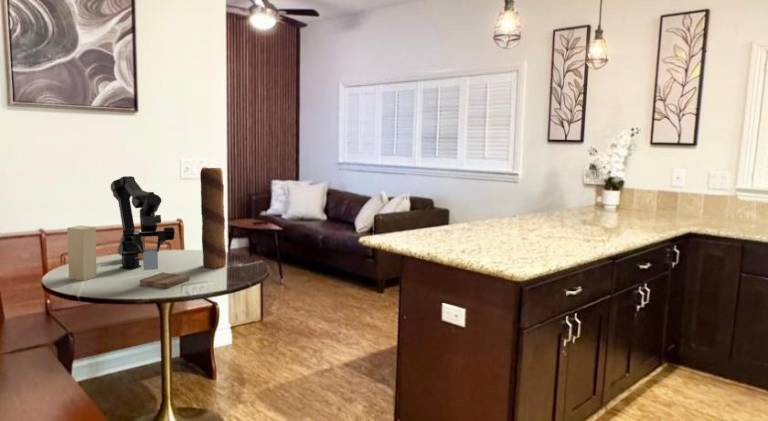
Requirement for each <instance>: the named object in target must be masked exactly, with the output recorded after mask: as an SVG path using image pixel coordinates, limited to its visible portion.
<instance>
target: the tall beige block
mask: <svg viewBox="0 0 768 421" xmlns="http://www.w3.org/2000/svg"><path fill="white" fill-rule="evenodd" d="M66 231H67V233H66V234H67V256H68V257H67V258H68V261H67V262H68V278H69V279H70V280H77V281H82V282H83V281H88V280H91V279H95V278H97V277H98V273H97V272H98V271H97V267H98V266H97V240H96V238H97V236H96V234H97V232H96V227H95V226H91V225H89V226H88V225H74V226H70V227H67V230H66Z"/></svg>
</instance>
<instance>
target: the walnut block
mask: <svg viewBox="0 0 768 421" xmlns="http://www.w3.org/2000/svg"><path fill="white" fill-rule="evenodd" d="M189 281H190V275H185V274H176V273H172V272H171V273H169V272H160V273H157V274H154V275H150V276H148V277H145V278H142V279H140V280H139V285H140V286H147V287H153V288H160V289H168V290H169V289H171V288H172V287H175V286H178V285H181V284H183V283H186V282H189Z"/></svg>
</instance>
